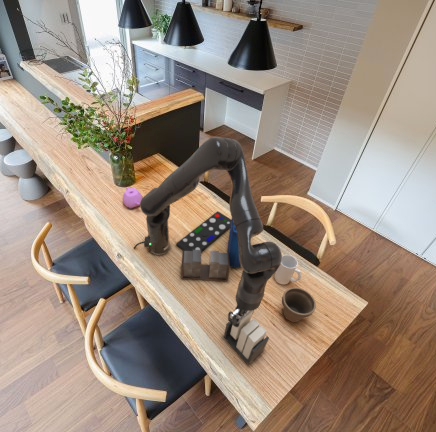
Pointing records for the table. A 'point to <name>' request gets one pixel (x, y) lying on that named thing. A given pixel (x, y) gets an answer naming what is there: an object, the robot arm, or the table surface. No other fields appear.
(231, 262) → the book
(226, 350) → the table surface
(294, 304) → the flower pot
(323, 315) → the table surface
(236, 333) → the white book
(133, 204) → the teapot
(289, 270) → the mug
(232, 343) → the dark book holder
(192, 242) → the remote control
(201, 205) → the table surface
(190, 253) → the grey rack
